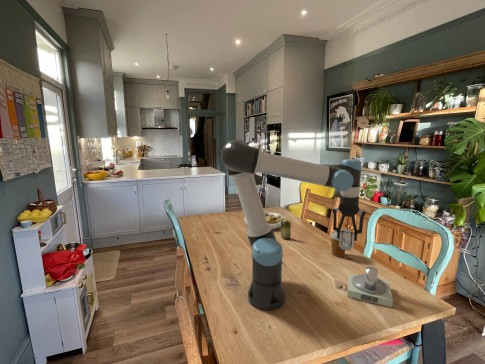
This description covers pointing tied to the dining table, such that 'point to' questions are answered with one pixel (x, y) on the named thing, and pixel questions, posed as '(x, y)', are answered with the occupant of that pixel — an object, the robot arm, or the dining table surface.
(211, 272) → the dining table surface
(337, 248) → the disposable coffee cup
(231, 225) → the dining table surface
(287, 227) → the asparagus bundle
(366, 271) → the cylinder
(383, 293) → the kitchen scale
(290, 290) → the dining table surface
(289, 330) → the dining table surface
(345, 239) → the spacer
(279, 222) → the bowl
